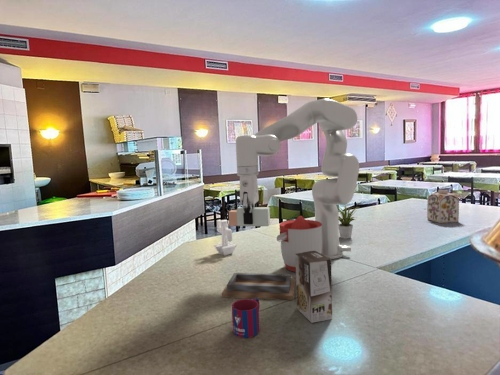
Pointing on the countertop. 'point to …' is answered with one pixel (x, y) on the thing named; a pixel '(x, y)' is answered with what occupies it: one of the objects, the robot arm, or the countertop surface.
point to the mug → (246, 317)
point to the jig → (260, 286)
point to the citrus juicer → (299, 239)
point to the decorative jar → (443, 207)
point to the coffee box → (314, 286)
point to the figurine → (225, 238)
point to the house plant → (346, 223)
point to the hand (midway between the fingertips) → (249, 222)
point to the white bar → (259, 217)
